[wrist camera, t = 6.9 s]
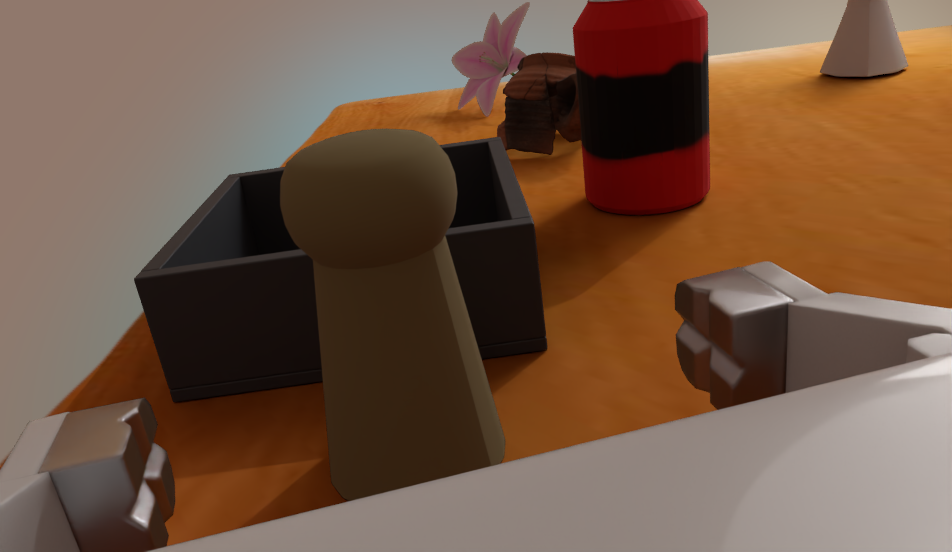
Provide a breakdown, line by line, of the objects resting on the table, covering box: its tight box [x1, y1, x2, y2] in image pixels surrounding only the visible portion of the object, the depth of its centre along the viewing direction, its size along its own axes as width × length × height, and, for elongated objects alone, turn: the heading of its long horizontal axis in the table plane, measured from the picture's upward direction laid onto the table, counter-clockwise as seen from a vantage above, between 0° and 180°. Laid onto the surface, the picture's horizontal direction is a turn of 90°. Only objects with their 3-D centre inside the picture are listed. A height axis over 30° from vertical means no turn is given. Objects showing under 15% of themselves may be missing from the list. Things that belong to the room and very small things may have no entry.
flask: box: [820, 0, 908, 77], centre depth 73 cm, size 7×7×10 cm
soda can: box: [573, 0, 710, 215], centre depth 47 cm, size 8×8×12 cm
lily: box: [452, 2, 529, 117], centre depth 82 cm, size 12×12×10 cm
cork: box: [280, 129, 505, 501], centre depth 25 cm, size 6×6×11 cm
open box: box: [134, 137, 547, 402], centre depth 38 cm, size 16×16×6 cm
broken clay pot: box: [497, 53, 581, 155], centre depth 64 cm, size 12×10×8 cm
